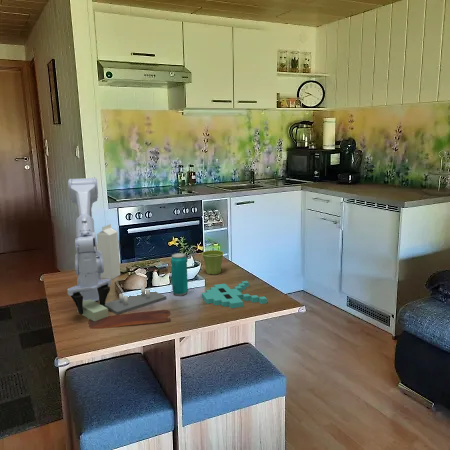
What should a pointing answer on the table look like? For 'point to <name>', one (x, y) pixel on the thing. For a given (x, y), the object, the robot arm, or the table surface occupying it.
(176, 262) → the beverage can
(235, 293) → the alien figure
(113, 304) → the peg rack
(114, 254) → the milk
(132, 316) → the wooden tablet
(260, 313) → the table surface
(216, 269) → the plant pot
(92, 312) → the pale green block
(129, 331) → the table surface
